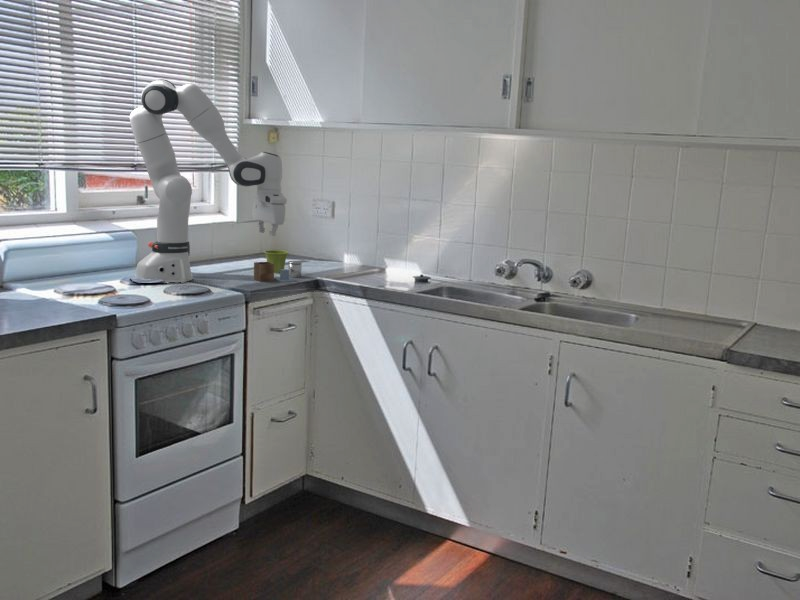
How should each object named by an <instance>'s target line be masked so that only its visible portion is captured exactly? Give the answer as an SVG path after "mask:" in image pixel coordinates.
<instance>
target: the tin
mask: <svg viewBox="0 0 800 600" xmlns="http://www.w3.org/2000/svg"><path fill="white" fill-rule="evenodd" d="M302 264H303V262H302V261H301V260H289V261H288V270H289V277H290V278H293V279H297V278H298V279H299V278H302V270H303V269H302V267H303V265H302Z"/></svg>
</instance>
